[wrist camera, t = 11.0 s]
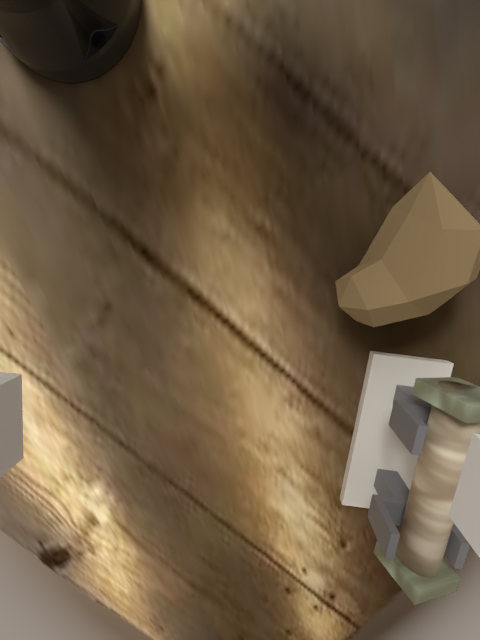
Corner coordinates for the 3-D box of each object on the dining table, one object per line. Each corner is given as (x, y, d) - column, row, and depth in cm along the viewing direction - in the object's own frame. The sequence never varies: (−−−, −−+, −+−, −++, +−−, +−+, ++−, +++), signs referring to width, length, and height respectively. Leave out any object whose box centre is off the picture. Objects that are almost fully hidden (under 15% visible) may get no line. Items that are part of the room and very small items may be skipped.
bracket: (370, 350, 38) (416, 390, 27) (447, 360, 38) (525, 404, 27) (339, 497, 42) (369, 583, 31) (409, 507, 42) (463, 597, 31)
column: (415, 378, 31) (471, 405, 26) (456, 377, 33) (515, 402, 28) (373, 553, 35) (414, 605, 30) (411, 543, 37) (456, 591, 32)
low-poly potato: (445, 186, 35) (368, 152, 29) (556, 219, 26) (475, 179, 21) (374, 306, 42) (301, 295, 36) (443, 362, 33) (362, 358, 28)
